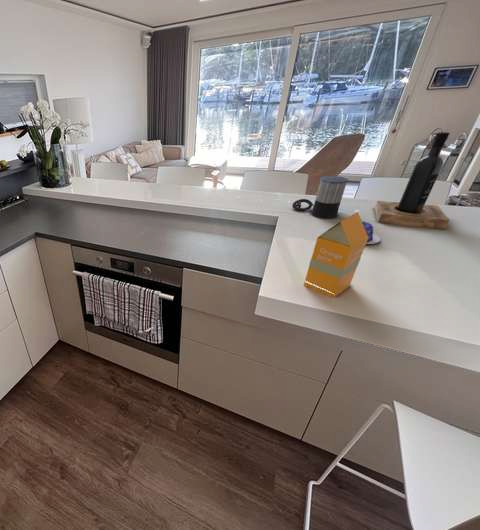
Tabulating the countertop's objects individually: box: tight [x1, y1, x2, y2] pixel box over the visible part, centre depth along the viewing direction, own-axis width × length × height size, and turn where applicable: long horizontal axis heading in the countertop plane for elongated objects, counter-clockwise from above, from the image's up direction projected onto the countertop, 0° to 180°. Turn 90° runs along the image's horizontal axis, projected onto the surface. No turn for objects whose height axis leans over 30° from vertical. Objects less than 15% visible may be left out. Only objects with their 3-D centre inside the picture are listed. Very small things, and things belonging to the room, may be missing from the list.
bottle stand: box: [374, 200, 450, 230], centre depth 109 cm, size 18×17×4 cm
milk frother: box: [292, 175, 349, 219], centre depth 118 cm, size 14×16×15 cm
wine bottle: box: [397, 131, 451, 214], centre depth 102 cm, size 6×6×30 cm
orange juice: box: [303, 212, 368, 299], centre depth 73 cm, size 8×9×20 cm
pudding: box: [362, 221, 381, 245], centre depth 98 cm, size 12×12×5 cm
